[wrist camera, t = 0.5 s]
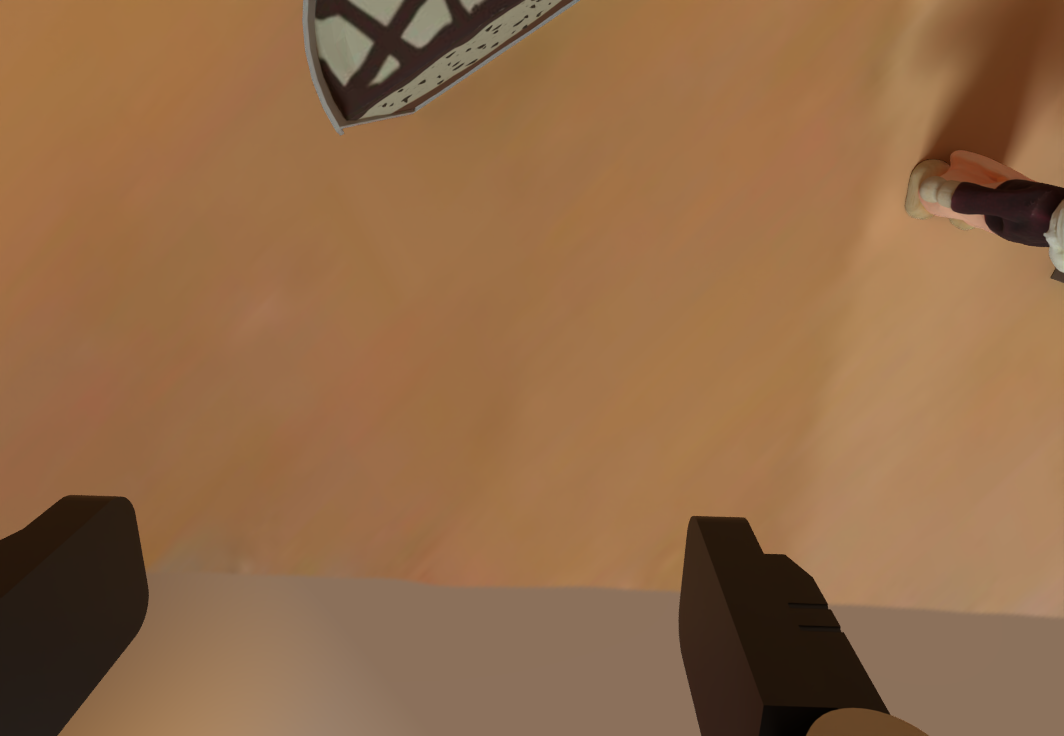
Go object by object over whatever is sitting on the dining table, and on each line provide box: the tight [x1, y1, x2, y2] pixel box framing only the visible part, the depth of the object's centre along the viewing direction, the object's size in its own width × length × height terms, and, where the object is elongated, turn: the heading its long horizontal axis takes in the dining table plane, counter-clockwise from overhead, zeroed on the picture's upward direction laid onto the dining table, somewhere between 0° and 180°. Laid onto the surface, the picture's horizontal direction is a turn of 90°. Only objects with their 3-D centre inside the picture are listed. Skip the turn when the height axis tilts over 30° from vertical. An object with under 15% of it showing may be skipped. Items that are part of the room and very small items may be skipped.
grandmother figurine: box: [905, 150, 1064, 273], centre depth 29 cm, size 8×4×13 cm, turn 86°
